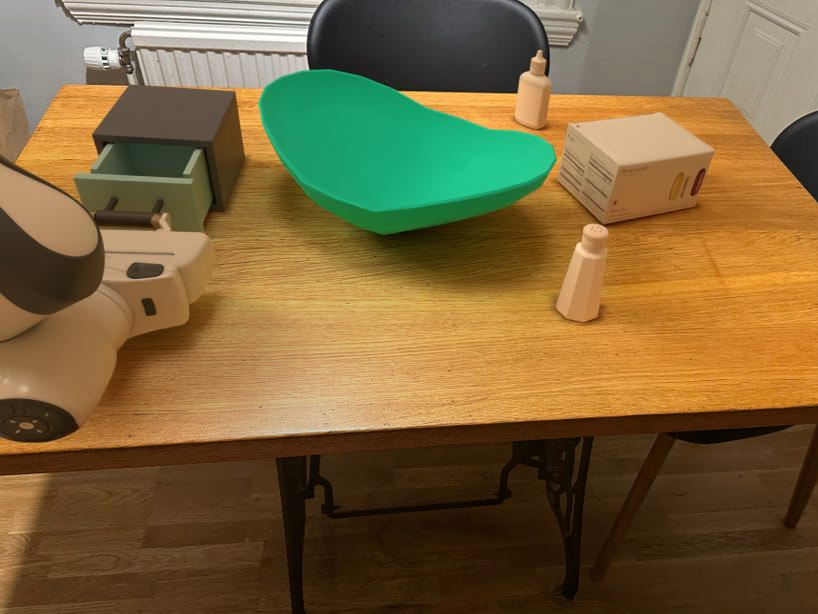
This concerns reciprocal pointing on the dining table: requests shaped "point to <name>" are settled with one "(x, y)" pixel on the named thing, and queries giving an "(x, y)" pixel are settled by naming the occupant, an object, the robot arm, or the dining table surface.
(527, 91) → the eye dropper bottle
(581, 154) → the supplement box
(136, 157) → the drawer
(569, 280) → the salt shaker
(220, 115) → the mini chest of drawers
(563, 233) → the dining table surface
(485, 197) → the table top decor
